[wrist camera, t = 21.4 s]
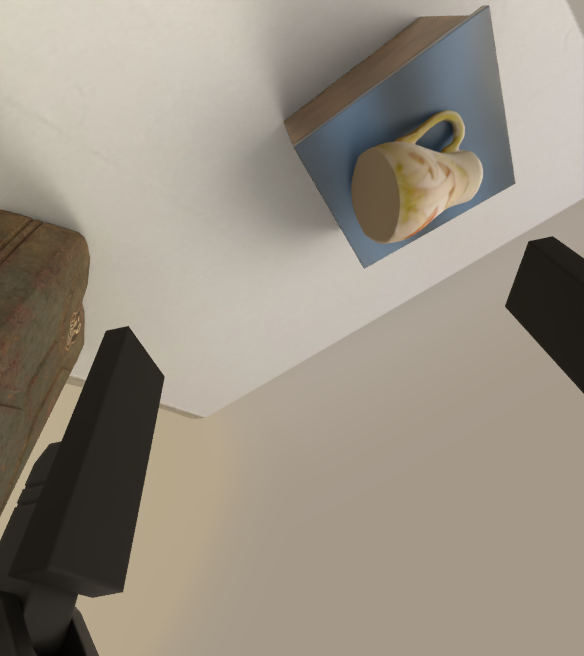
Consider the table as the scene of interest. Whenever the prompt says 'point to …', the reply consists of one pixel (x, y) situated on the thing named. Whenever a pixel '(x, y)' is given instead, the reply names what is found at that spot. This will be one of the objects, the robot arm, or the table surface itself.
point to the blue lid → (417, 125)
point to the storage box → (369, 73)
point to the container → (36, 331)
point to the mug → (412, 182)
